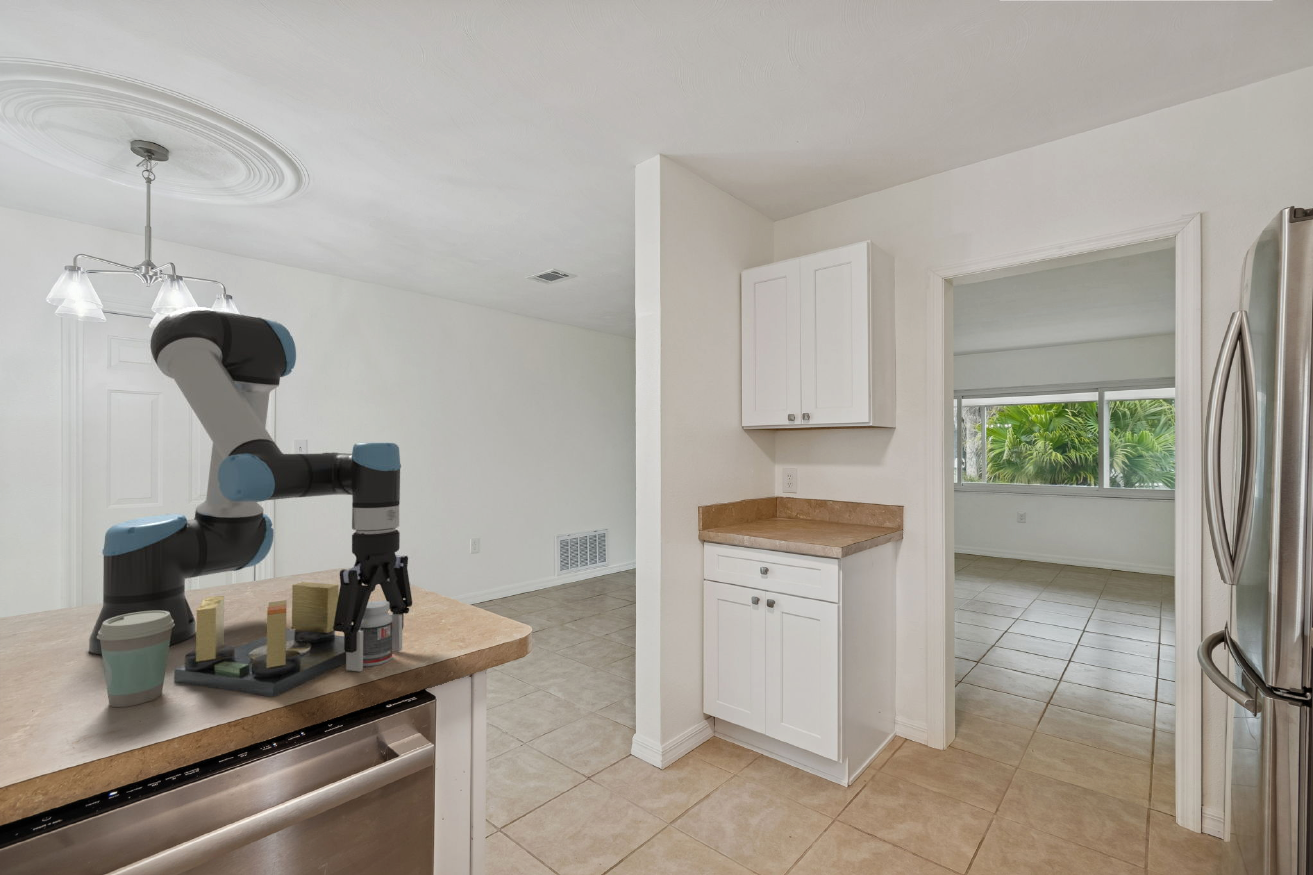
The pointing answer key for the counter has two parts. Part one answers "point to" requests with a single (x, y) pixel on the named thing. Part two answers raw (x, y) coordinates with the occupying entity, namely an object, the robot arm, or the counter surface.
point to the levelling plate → (241, 680)
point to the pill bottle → (377, 633)
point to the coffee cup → (135, 656)
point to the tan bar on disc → (276, 647)
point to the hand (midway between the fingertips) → (375, 659)
